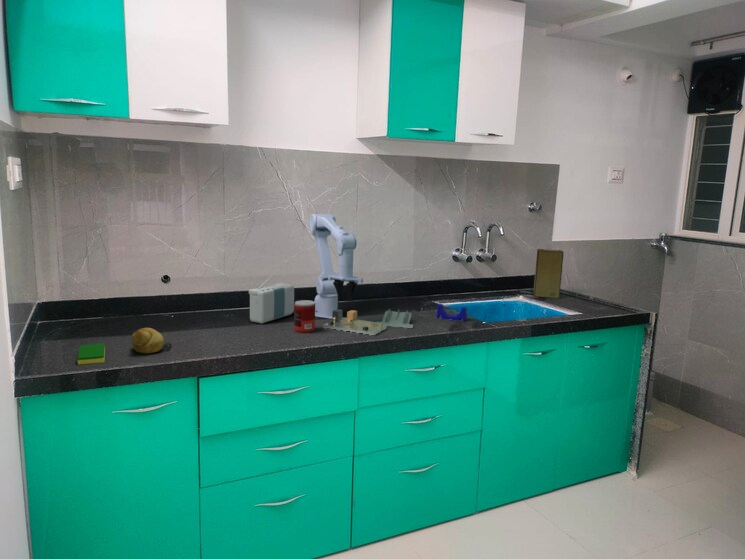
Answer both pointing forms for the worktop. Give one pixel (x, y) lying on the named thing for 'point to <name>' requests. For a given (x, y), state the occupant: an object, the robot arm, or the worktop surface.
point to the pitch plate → (353, 324)
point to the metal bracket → (397, 319)
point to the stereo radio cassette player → (271, 302)
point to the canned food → (304, 316)
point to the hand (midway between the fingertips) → (344, 299)
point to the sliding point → (351, 315)
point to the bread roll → (147, 341)
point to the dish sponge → (91, 354)
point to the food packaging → (548, 273)
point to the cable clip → (454, 317)
